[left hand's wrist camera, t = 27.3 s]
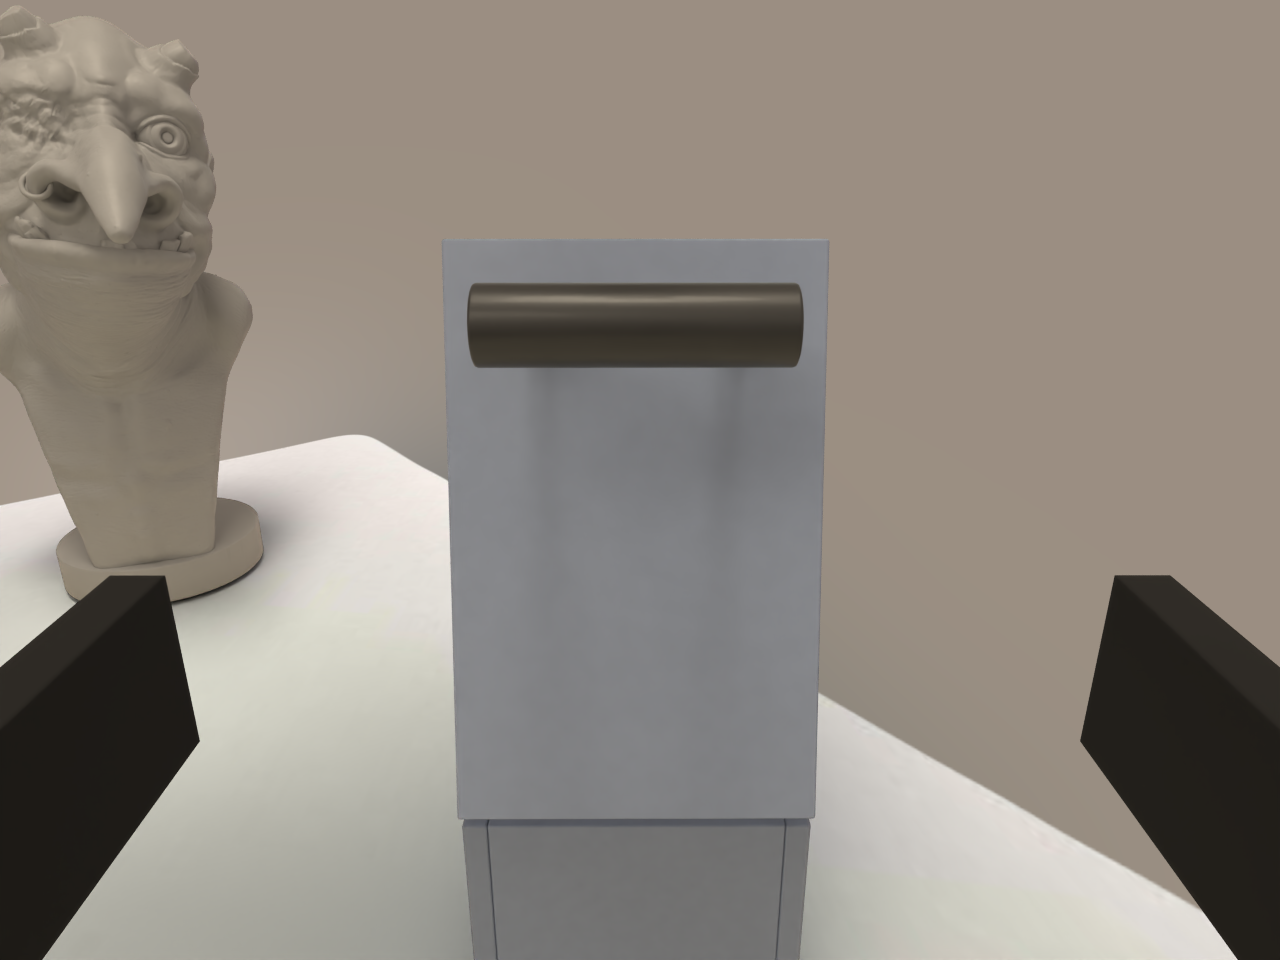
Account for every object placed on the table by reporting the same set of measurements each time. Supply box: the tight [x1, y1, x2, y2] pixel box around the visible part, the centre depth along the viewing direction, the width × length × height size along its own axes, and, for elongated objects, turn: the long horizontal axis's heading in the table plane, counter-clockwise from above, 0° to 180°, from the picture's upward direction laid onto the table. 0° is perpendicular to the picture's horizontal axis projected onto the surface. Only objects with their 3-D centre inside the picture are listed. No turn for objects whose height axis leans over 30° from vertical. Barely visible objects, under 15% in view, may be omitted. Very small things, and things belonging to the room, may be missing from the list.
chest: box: [462, 818, 810, 960], centre depth 35 cm, size 15×10×11 cm, turn 0°
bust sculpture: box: [0, 5, 263, 601], centre depth 54 cm, size 16×24×35 cm
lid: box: [442, 239, 829, 819], centre depth 21 cm, size 16×10×8 cm
